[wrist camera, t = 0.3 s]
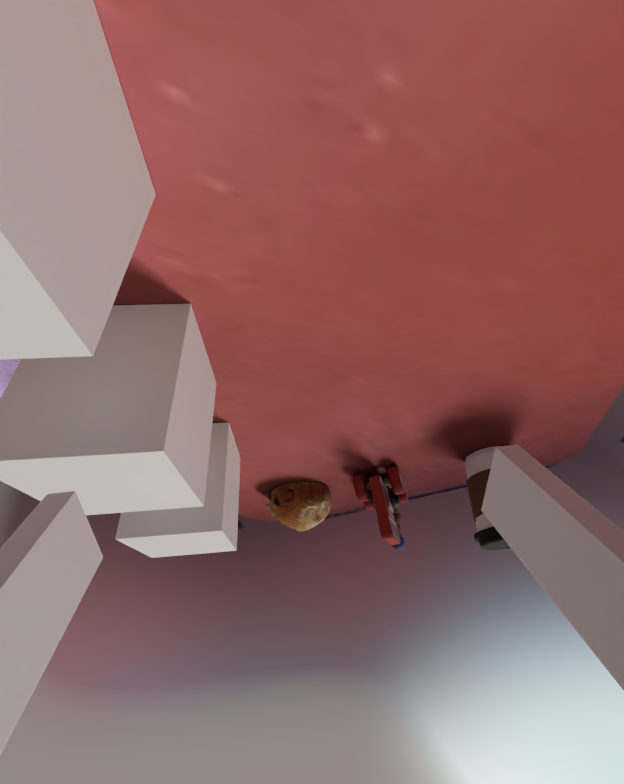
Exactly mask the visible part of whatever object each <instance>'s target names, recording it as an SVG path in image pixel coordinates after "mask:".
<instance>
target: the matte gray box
mask: <svg viewBox="0 0 624 784" xmlns="http://www.w3.org/2000/svg"><path fill="white" fill-rule="evenodd" d="M239 478H240V455H239V452H238V449H237V446H236V443H235V440H234V437H233V434H232V431H231V427H230V424H229V423H212V432H211V442H210V452H209V462H208V472H207V482H206V492H205V502H204V506H203V507H190V508H176V509H163V510H149V511H136V512H122V513H121V517H120V521H119V525H118V530H117V534H116V538H115V539H116V540H118V541H120V542H122V543H124V544H126V545H128V546H130V547H132V548H134V549H136V550H138V551H140V552H142V553H143V554H146V555H147V556H150V557H151V558H155V557H167V556H179V555H190V554H202V553H214V552H225V551H236V550H237V528H238V503H239Z"/></svg>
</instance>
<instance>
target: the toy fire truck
mask: <svg viewBox="0 0 624 784" xmlns="http://www.w3.org/2000/svg"><path fill="white" fill-rule="evenodd" d="M388 476H389V478H386V479H383V478H382V476H381V475H375V476H371V477H370V478H369V483H367V480H366V477H365V476H364V474H362V473H361V474H357V475H354V477H353V484H354V489H355V493H356V496H357V498H358V500H359V501H360V502H363V503H364V506H365V508H366V510H372V509H376V513H377V518H378V525H379V529H380V533H381V537H382V538H383V539H384V540H385V541H387V542H388V543H389V544H390V545H392V546H393V547H394V548H395V549H402V548H403V547H404V545H405V541H404V538H403V537H402V533H401V528H400V520H401V515H400V512H399V511H398V510H397V509H396V507H398V506H399V503H405V502H408V496H407V492H406V488H405V485H404V482H403V479H402V477H401V473H400V471H399V468H398V467H397V466H393V467H389V468H388ZM388 485H391V486H392V488H390V489H389V487H388Z"/></svg>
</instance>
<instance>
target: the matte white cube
mask: <svg viewBox="0 0 624 784" xmlns="http://www.w3.org/2000/svg"><path fill="white" fill-rule="evenodd" d="M155 195H156V194H155V191H154V188H153V185H152V182H151V179H150V175H149V172H148V169H147V166H146V163H145V160H144V157H143V154H142V151H141V147H140V144H139V141H138V138H137V135H136V132H135V129H134V126H133V123H132V119H131V116H130V113H129V110H128V107H127V104H126V101H125V98H124V95H123V91H122V88H121V85H120V82H119V79H118V76H117V73H116V70H115V67H114V63H113V60H112V57H111V54H110V51H109V48H108V45H107V42H106V39H105V35H104V32H103V29H102V26H101V23H100V20H99V17H98V14H97V11H96V7H95V4H94V1H93V0H0V360H4V359H31V358H58V357H85V356H93V355H94V353H95V350H96V347H97V345H98V342H99V340H100V337H101V335H102V332H103V329H104V327H105V324H106V322H107V319H108V317H109V314H110V311H111V309H112V306H113V304H114V301H115V298H116V296H117V293H118V291H119V288H120V286H121V283H122V280H123V278H124V275H125V273H126V270H127V267H128V265H129V262H130V260H131V257H132V255H133V252H134V249H135V247H136V244H137V242H138V239H139V236H140V234H141V231H142V229H143V226H144V224H145V221H146V218H147V216H148V213H149V211H150V208H151V206H152V203H153V200H154V198H155Z"/></svg>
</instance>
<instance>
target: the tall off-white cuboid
mask: <svg viewBox="0 0 624 784" xmlns="http://www.w3.org/2000/svg"><path fill="white" fill-rule="evenodd" d="M215 391H216V381H215V378H214V374H213V371H212V368H211V365H210V362H209V359H208V356H207V353H206V350H205V346H204V343H203V340H202V337H201V334H200V331H199V328H198V325H197V322H196V318H195V315H194V312H193V309H192V306H191V304H153V305H114V306H112V309H111V311H110V314H109V317H108V319H107V322H106V324H105V327H104V329H103V332H102V335H101V337H100V340H99V342H98V345H97V347H96V350H95V353H94V355H93V356H85V357H58V358H31V359H22V361H21V363H20V364H19V366H18V368H17V370H16V372H15V374H14V375H13V377H12V379H11V381H10V383H9V385H8V386H7V388H6V390H5V392H4V394H3V396H2V397H1V399H0V481H2V482H4V483H6V484H8V485H10V486H12V487H14V488H16V489H18V490H20V491H22V492H24V493H26V494H28V495H30V496H32V497H34V498H36V499H37V500H40V501H42V500H43V499H44V497H45V496H46V495H47V494H53V493H62V492H72V491H75V492H76V494H77V496H78V499H79V501H80V503H81V506H82V508H83V511H84V513H85V515H95V514H109V513H122V512H136V511H149V510H163V509H176V508H190V507H203V506H204V502H205V492H206V482H207V472H208V462H209V452H210V442H211V432H212V421H213V411H214V401H215Z"/></svg>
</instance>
